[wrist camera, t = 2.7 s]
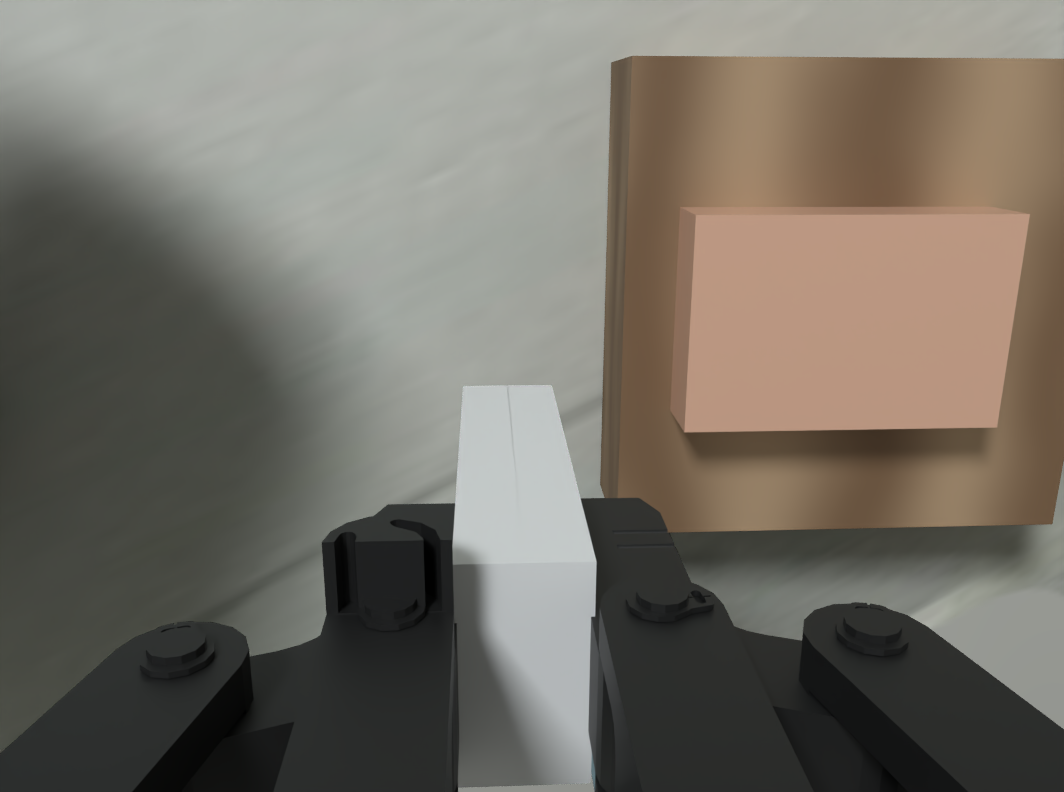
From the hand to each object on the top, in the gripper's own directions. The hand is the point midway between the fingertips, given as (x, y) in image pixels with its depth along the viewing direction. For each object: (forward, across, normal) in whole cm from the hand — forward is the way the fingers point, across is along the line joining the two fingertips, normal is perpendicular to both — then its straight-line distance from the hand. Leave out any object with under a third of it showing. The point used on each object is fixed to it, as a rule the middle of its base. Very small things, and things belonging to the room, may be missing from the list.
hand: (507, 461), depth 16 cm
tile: (+12, +10, 0) cm, 15 cm away
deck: (+16, +11, 0) cm, 19 cm away
